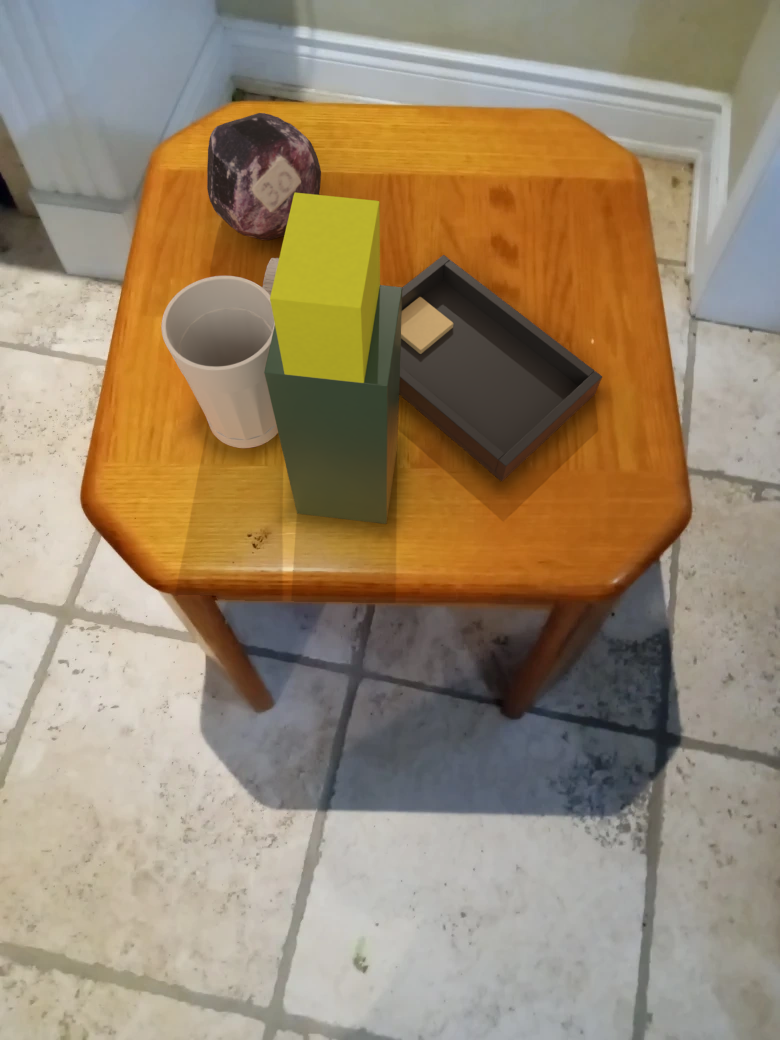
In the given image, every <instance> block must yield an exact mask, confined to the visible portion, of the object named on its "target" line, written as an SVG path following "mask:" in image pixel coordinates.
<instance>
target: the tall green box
mask: <svg viewBox="0 0 780 1040" xmlns="http://www.w3.org/2000/svg"><path fill="white" fill-rule="evenodd" d="M402 287H403V286H393V285H385V284H384V285H383V284H380V288H379V294H378V300H377V306H376V313H375V319H374V325H373V331H372V337H371V343H370V349H369V355H368V361H367V367H366V374H365V380H364V383H359V382H350V381H340V380H331V379H322V378H313V377H304V376H295V375H286V374H284V369H283V363H282V358H281V353H280V348H279V343H278V338H277V332H276V327H275V326H274V331H273V335H272V340H271V344H270V348H269V353H268V357H267V362H266V366H265V371H264V374H265V378H266V382H267V386H268V391H269V395H270V399H271V404H272V408H273V412H274V417H275V421H276V425H277V430H278V433H277V435H278V438H279V442H280V447H281V451H282V455H283V459H284V460H283V461H284V464H285V468H286V473H287V477H288V481H289V485H290V489H291V493H292V499H293V502H294V506H295V511H296V514H298V515H306V516H314V517H325V518H333V519H339V520H348V521H349V520H351V521H358V522H365V523H375V524H384V525H386V524H387V523H388V517H389V509H390V503H391V495H392V488H393V481H394V474H395V466H396V460H397V453H398V446H399V445H398V441H399V440H398V439H399V409H400V395H399V383H400V350H401V318H402Z"/></svg>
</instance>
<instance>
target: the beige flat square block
mask: <svg viewBox="0 0 780 1040" xmlns="http://www.w3.org/2000/svg"><path fill="white" fill-rule="evenodd" d="M452 328H453V322H452V321H450V320H449V319H448V318H447V317H445V316H444V315H443V314H442V313H440V312H439V311H438V310H436V309H435V308H434V307H433V306H431V305H430V304H429V303H428V302H426V301H425V300H424V299H423V298H421V297H419V298H417V299H416V300H415V301H414V302H412V303H411V304H410V305H409V306H407V307H406V308H405V309H404V310H402V318H401V339H403V340H404V341H405V342H406V343H407V344H409V345H410V346H411V347H412V348H413V349H415V350H416V351H417V352H418V353H420V354H422V353H423V352H424V351H425V350H426V349H428V348H429V347H430V346H431V345H432V344H434V343H435V342H436V341H437V340H438V339H440V338H441V337H442V336H443V335H444V334H446V333H447V332H448V331H449V330H450V329H452Z"/></svg>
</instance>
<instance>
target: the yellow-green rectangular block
mask: <svg viewBox="0 0 780 1040" xmlns="http://www.w3.org/2000/svg"><path fill="white" fill-rule="evenodd" d="M380 205H381V204H380V201H379V200H373V199H364V198H356V197H355V198H353V197H343V196H333V195H325V194H324V195H323V194H319V195H314V194H304V193H294V196H293V201H292V205H291V209H290V214H289V218H288V222H287V227H286V231H285V235H284V236H283V240H282V244H281V248H280V252H279V257H278V258H279V261H278V265H277V270H276V274H275V278H274V283H273V287H272V291H271V296H270V302H271V307H272V312H273V317H274V322H275V327H276V332H277V338H278V343H279V348H280V353H281V358H282V363H283V369H284V374H286V375H295V376H304V377H313V378H322V379H331V380H340V381H350V382H359V383H364V380H365V374H366V367H367V361H368V355H369V349H370V343H371V337H372V331H373V325H374V319H375V313H376V306H377V300H378V294H379V288H380V285H381V229H380V227H381V226H380V221H381V219H380V217H381V215H380V212H381V211H380Z"/></svg>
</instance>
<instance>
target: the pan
mask: <svg viewBox="0 0 780 1040" xmlns="http://www.w3.org/2000/svg"><path fill="white" fill-rule="evenodd" d="M401 287H402V310H404V309H405V308H406V307H407V306H409V305H410V304H411V303H412V302H414V301H415V300H416V299H417V298H419V297H421V298H423V299H424V300H425V301H426V302H428V303H429V304H430V305H431V306H433V307H434V308H435V309H436V310H438V311H439V312H440V313H442V314H443V315H444V316H445V317H447V318H448V319H449V320H450V321H452V322H453V328H452V329H450V330H449V331H448V332H447V333H446V334H444V335H443V336H442V337H441V338H440V339H438V340H437V341H436V342H435V343H434V344H432V345H431V346H430V347H429V348H428V349H426V350H425V351H424V352H423V353H422V354H420V353H418V352H417V351H416V350H415V349H413V348H412V347H411V346H410V345H409V344H407V343H406V342H405V341H404V340H403V339H401V350H400V383H399V396H400V397H402V398H403V399H404V400H405V401H406V402H407V403H408V404H410V406H412V407H413V408H415V409H416V410H417V411H418V412H419V413H420V414H422V416H424V417H425V418H426V419H427V420H428V421H430V422H431V423H432V424H433V425H434V426H435V427H437V428H438V429H439V430H440V431H441V432H443V433H444V434H445V435H446V436H447V437H449V438H450V439H451V440H452V441H453V442H454V443H456V444H457V445H458V446H459V447H460V448H461V449H463V450H464V451H465V452H466V453H467V454H468V455H469V456H471V457H472V458H473V459H474V460H475V461H476V462H478V463H479V464H480V465H481V466H483V467H484V468H485V469H486V470H487V471H488V472H489V473H491V474H492V475H493V476H494V477H495V478H496V479H498V480H499V481H500V482H502V483H503V481H505V479H507V478H508V477H509V476H510V475H511V474H512V473H513V472H514V471H515V470H516V469H517V468H519V466H520V465H521V464H523V462H524V461H526V460H527V459H528V458H529V457H530V456H531V455H532V454H533V453H535V451H536V450H537V449H539V448H540V446H542V445H543V444H544V443H545V442H546V441H547V440H548V439H549V438H550V437H551V436H552V435H553V434H554V433H555V432H557V430H559V429H560V428H561V427H562V426H563V425H564V424H565V423H566V422H568V420H569V419H571V417H572V416H574V415H575V414H576V412H578V411H579V410H580V409H581V408H582V407H583V406H584V405H585V404H586V403H588V402H589V401H590V400H591V399H592V398H594V396H595V395H596V394H597V391H598V387H599V386H600V384H601V381H602V379H603V376H602V375H601V374H600V373H598V372H597V371H596V370H595V369H593V368H592V367H591V366H589V365H588V364H587V363H586V362H584V361H583V360H581V359H580V358H579V357H578V356H576V355H575V354H574V353H573V352H571V351H570V350H568V349H567V347H565V346H563V345H562V344H561V343H560V342H558V341H557V340H555V339H554V338H553V337H551V336H550V334H547V332H545V330H542V329H541V328H539V326H537V325H536V324H535V323H533V322H532V321H530V320H529V319H528V318H527V317H525V315H523V314H522V313H520V312H519V311H517V309H515V308H513V306H512V305H510V304H509V303H508V302H506V301H505V300H503V299H502V298H500V296H498V295H497V294H496V293H494V292H493V291H492V290H491V289H489V288H488V287H486V286H485V285H484V284H482V282H480V281H479V280H478V279H476V278H475V277H473V276H472V275H471V274H470V273H468V272H467V271H466V270H464V269H463V268H462V267H461V266H460V265H458V264H456V263H455V262H454V261H453V260H451V259H450V258H449V257H447V256H446V255H445V254H442V255H441V256H440V257H439V258H438V259H436V260H435V261H433V262H432V263H431V264H430V265H429V266H427V267H426V268H425V269H424V270H422V271H421V272H420V273H418V274H417V275H416V276H415V277H413V278H412V279H411V280H410V281H408V282H407V283H406V284H404V285H403V286H401Z"/></svg>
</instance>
